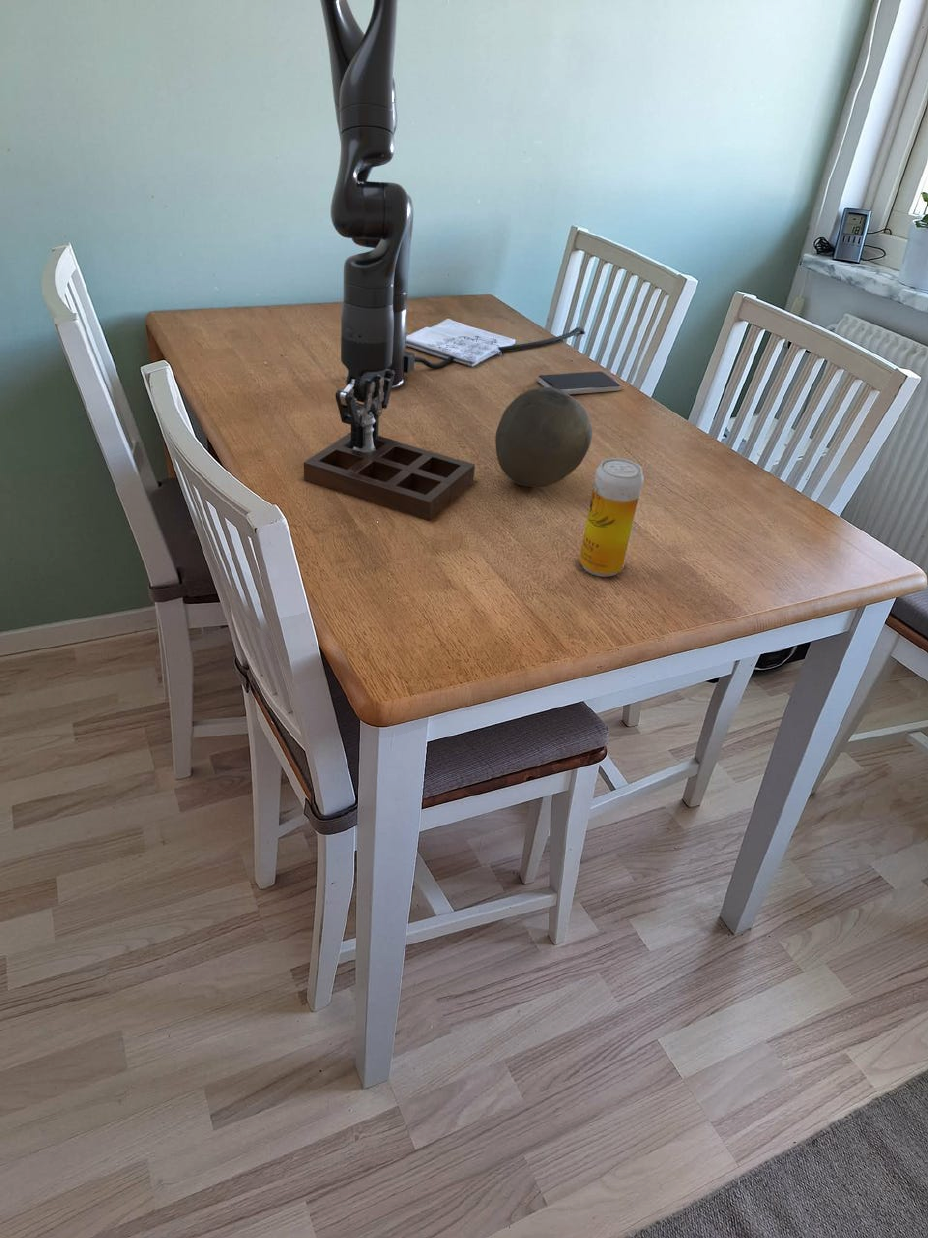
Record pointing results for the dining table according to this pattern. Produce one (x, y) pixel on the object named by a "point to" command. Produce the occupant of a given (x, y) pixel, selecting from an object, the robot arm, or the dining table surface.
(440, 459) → the open grid frame
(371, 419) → the rook chess piece
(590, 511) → the beer can
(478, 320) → the dining table surface
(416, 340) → the white paper booklet
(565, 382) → the smartphone
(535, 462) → the cantaloupe
